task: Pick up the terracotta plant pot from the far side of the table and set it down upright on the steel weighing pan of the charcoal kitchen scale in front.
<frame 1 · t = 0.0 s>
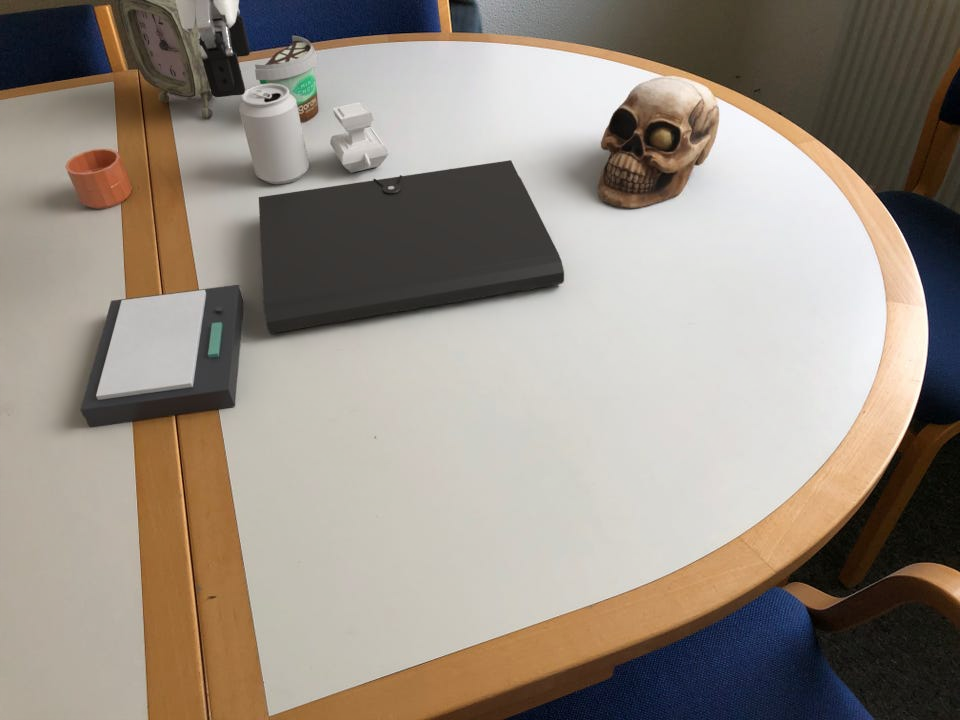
hand: (232, 74, 82), 23 cm above the table, tool pointing down, fingers open, 9 cm apart
scale: (173, 359, 84), on the table
tabletop clock: (200, 105, 130), on the table
food container: (305, 115, 125), on the table
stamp: (361, 165, 113), on the table
terracotta plant pot: (107, 197, 109), on the table
beige skull model: (652, 176, 108), on the table
file folder: (404, 254, 97), on the table
can: (283, 174, 112), on the table
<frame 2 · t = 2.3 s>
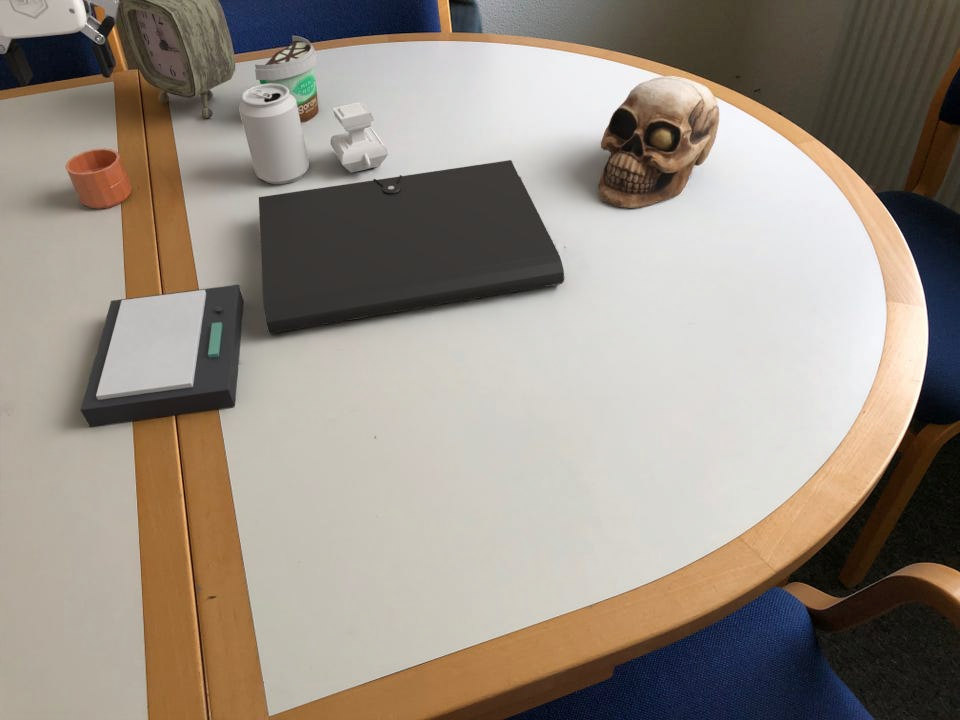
hand: (68, 77, 97), 17 cm above the table, tool pointing down, fingers open, 9 cm apart
nothing on the table moved.
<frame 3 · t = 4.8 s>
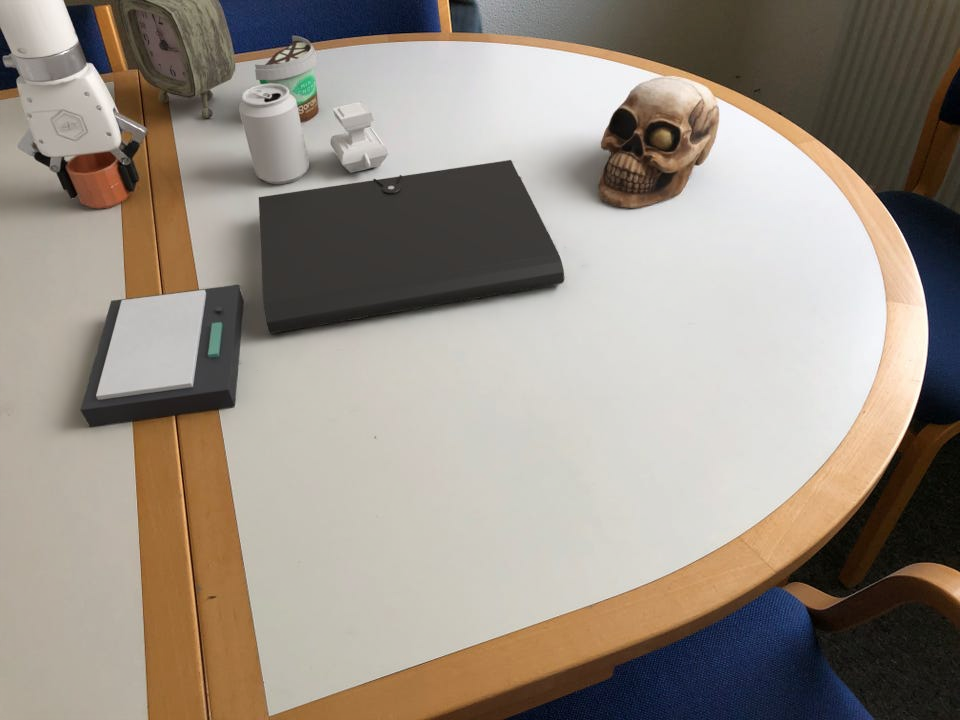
hand: (104, 189, 108), 1 cm above the table, tool pointing down, fingers closed on terracotta plant pot, 6 cm apart
terracotta plant pot: (107, 197, 109), on the table, touching gripper
everything else where it was.
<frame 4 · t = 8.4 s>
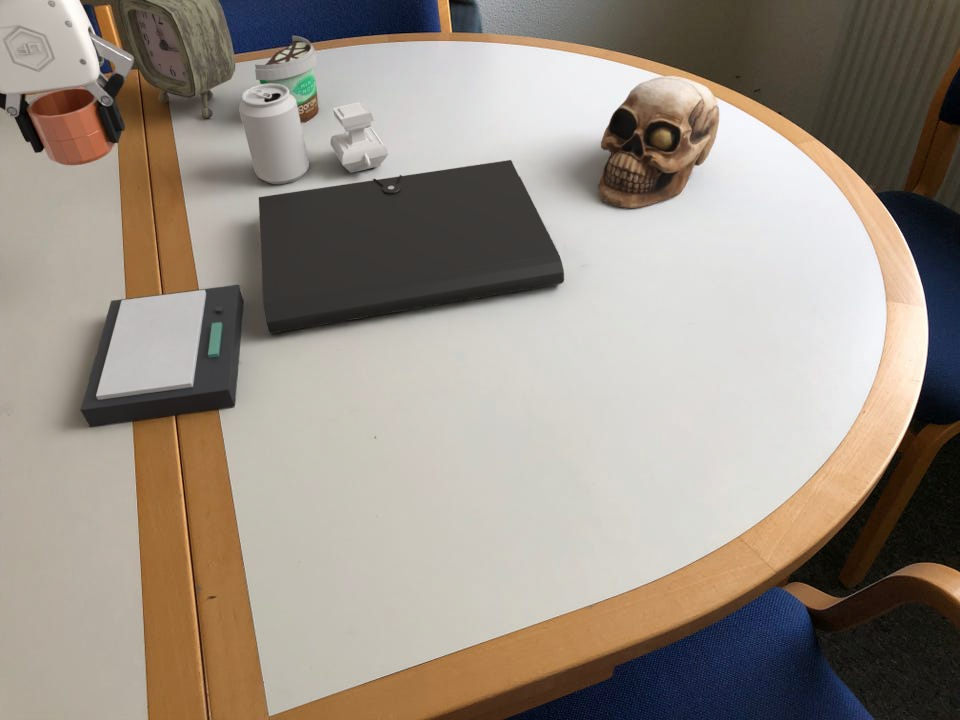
hand: (79, 140, 83), 18 cm above the table, tool pointing down, fingers closed on terracotta plant pot, 6 cm apart
terracotta plant pot: (83, 151, 84), point 17 cm above the table, touching gripper
everything else where it was.
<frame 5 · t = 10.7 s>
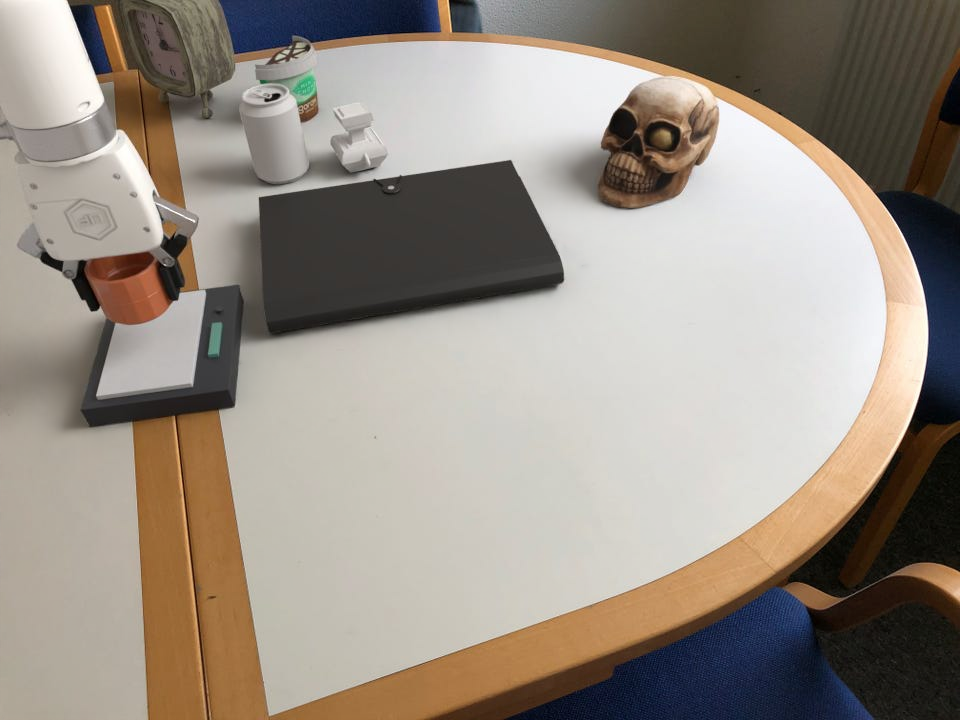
hand: (137, 296, 78), 9 cm above the table, tool pointing down, fingers closed on terracotta plant pot, 6 cm apart
terracotta plant pot: (141, 306, 79), point 7 cm above the table, touching gripper
everything else where it was.
when the fingers open (4 cm above the table, at t = 12.5 s): terracotta plant pot stays where it is, resting on scale.
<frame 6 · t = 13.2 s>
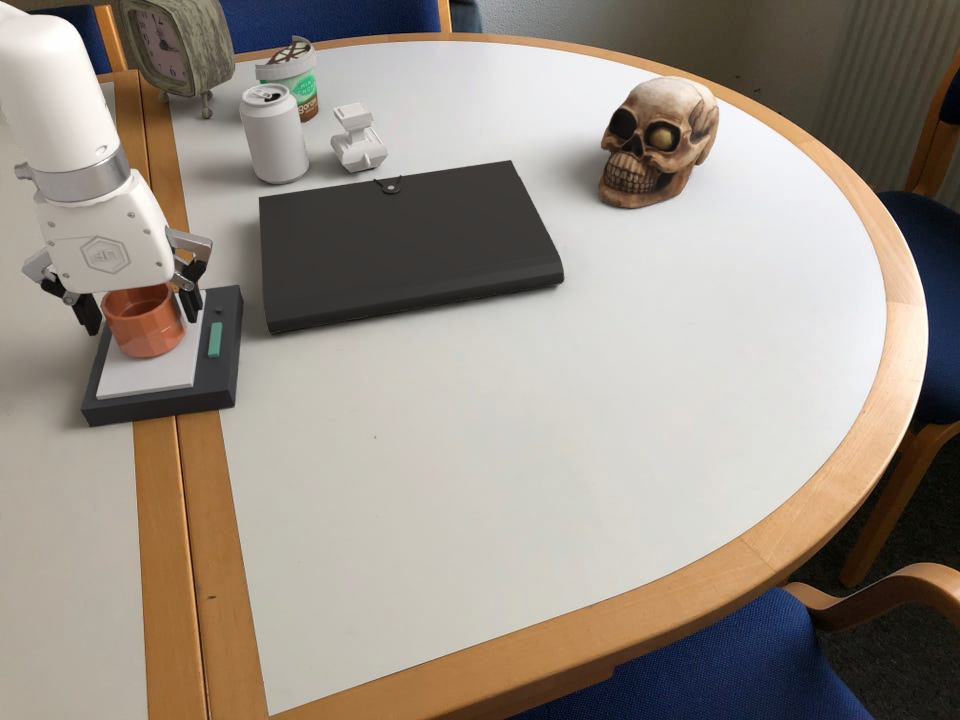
hand: (146, 320, 80), 6 cm above the table, tool pointing down, fingers open, 9 cm apart
terracotta plant pot: (154, 338, 82), point 3 cm above the table, touching scale
everything else where it was.
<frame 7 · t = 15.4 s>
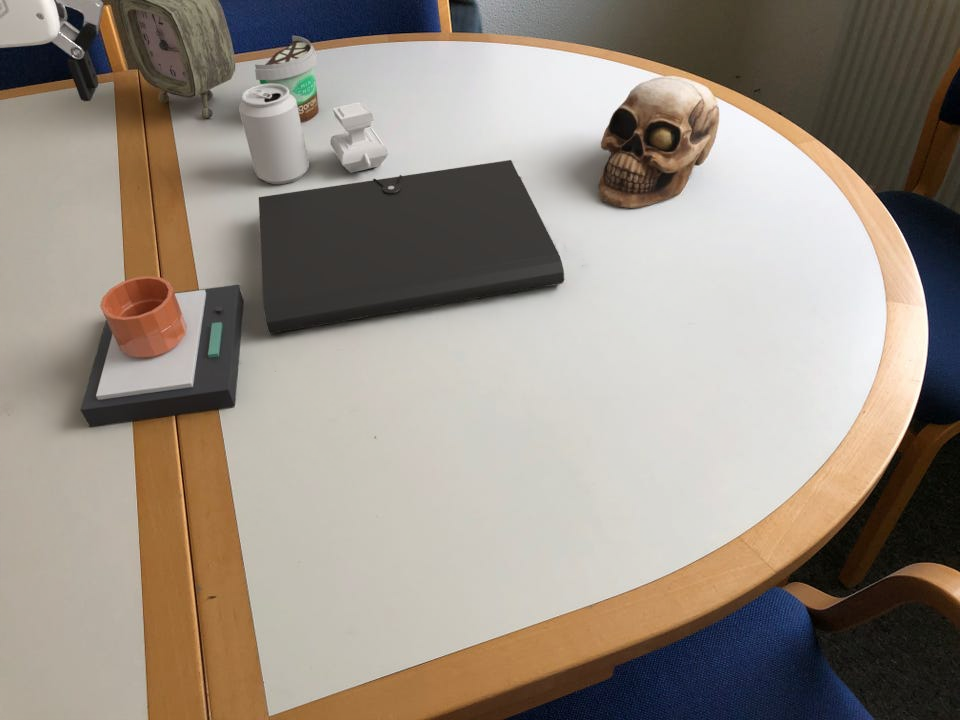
hand: (36, 99, 75), 24 cm above the table, tool pointing down, fingers open, 9 cm apart
nothing on the table moved.
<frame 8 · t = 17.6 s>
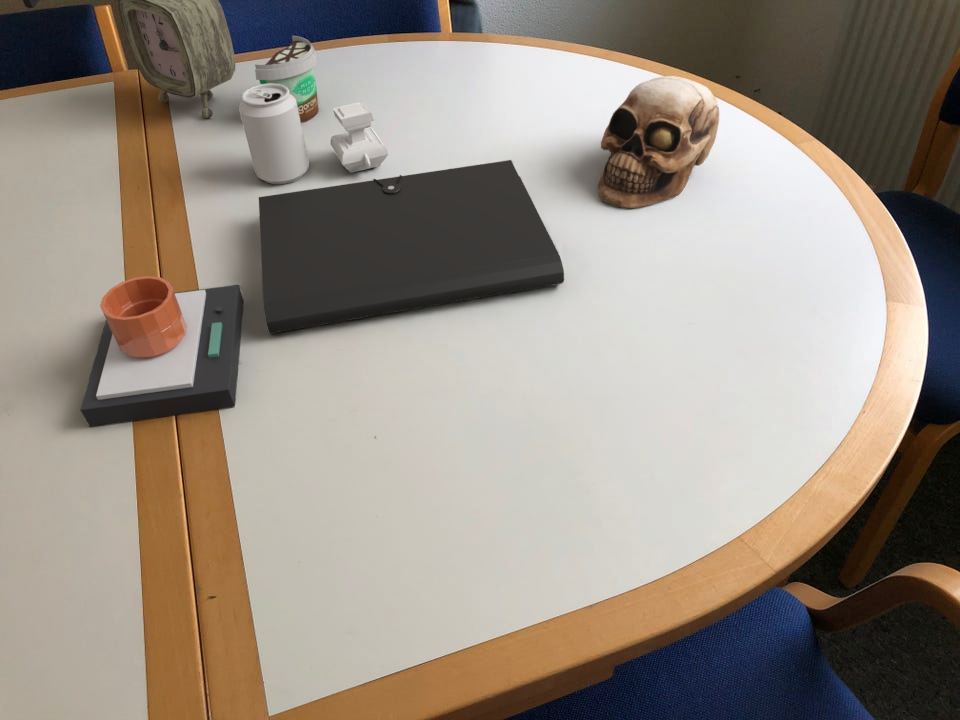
nothing on the table moved.
at the end: terracotta plant pot inside the target area on the scale (0.0 cm from its centre), point 3.1 cm above the scale's base; terracotta plant pot tilted 0°; the gripper is holding nothing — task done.
